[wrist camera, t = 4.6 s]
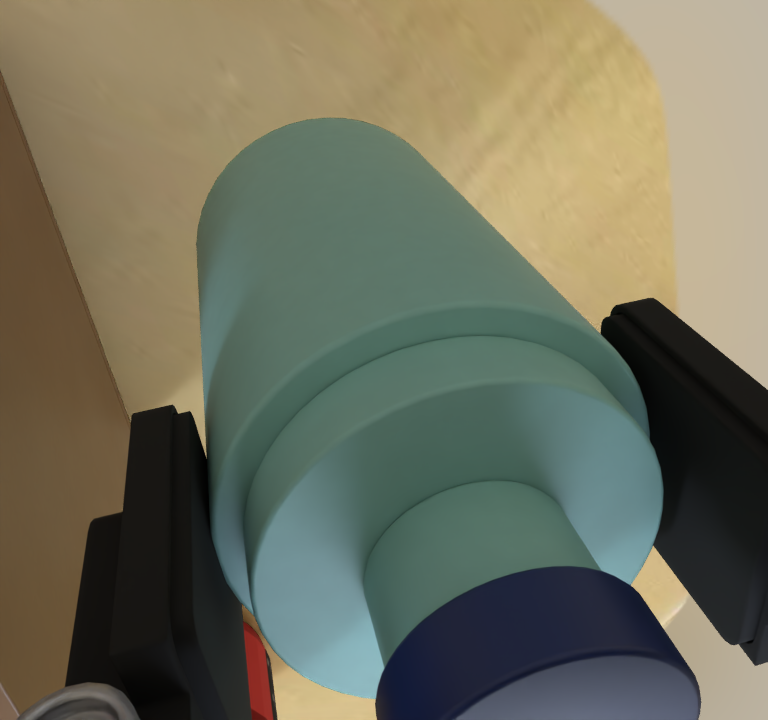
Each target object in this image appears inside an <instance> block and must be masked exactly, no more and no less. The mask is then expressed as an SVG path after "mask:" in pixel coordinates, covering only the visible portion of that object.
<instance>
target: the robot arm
mask: <svg viewBox="0 0 768 720" xmlns="http://www.w3.org/2000/svg"><path fill="white" fill-rule="evenodd" d="M601 335H602V336H603V337H604V338H605V339H606V340H607V341H608V342H609V343H610V344H611V345H612V346H613V347H614V348H615V349H616V351H617V352H618V353H619V354H620V356H621V357H622V358H623V359H624V361H625V362H626V363H627V364H628V366H629V367H630V369H631V371H632V373H633V375H634V376H635V378H636V380H637V382H638V384H639V386H640V389H641V392H642V395H643V398H644V401H645V405H646V408H647V415H648V422H649V429H650V442H651V444H652V446H653V447H654V449H655V452H656V455H657V458H658V461H659V464H660V467H661V473H662V481H663V489H664V493H663V511H662V516H661V520H660V525H659V530H658V532H657V535H656V538H655V541H654V544H653V546H654V547H655V548H656V550H657V551H658V552H659V554H660V555H661V556H662V558H663V559H664V560H665V562H666V563H667V564H668V566H669V567H670V568H671V570H672V571H673V572H674V574H675V575H676V576H677V578H678V579H679V580H680V582H681V583H682V584H683V586H684V587H685V588H686V590H687V591H688V592H689V594H690V595H691V596H692V598H693V599H694V600H695V602H696V603H697V604H698V606H699V607H700V608H701V610H702V611H703V612H704V614H705V615H706V616H707V618H708V619H709V620H710V622H711V623H712V624H713V626H714V627H715V629H716V630H717V631H718V633H719V634H720V635H721V636H722V637H723V639H724V640H725V641H726V642H728V643H729V644H731V645H737V644H739V645H740V647H741V648H742V649H743V650H744V652H745V653H746V654H747V656H748V657H749V658H750V660H751V661H752V662H753V664H754V665H755V666H756V665H759V664H763V663H766V662H768V390H767V389H766V388H765V387H763V386H762V385H761V384H760V383H758V382H757V381H756V380H755V379H754V378H752V377H751V376H750V375H749V374H747V373H746V372H745V371H744V370H742V369H741V368H740V367H739V366H738V365H736V364H735V363H734V362H733V361H731V360H730V359H729V358H728V357H726V356H725V355H724V354H723V353H721V352H720V351H719V350H718V349H717V348H715V347H714V346H713V345H712V344H710V343H709V342H708V341H707V340H705V339H704V338H703V337H701V335H699V334H698V333H697V332H696V331H694V330H693V329H692V328H691V327H690V326H688V325H687V324H686V323H685V322H683V321H682V320H681V319H680V318H678V317H677V316H676V315H675V314H674V313H672V312H671V311H670V310H669V309H667V308H666V307H665V306H664V305H662V304H661V303H660V302H659V301H657V300H656V299H654V298H647V299H642V300H638V301H633V302H629V303H624V304H620V305H616V306H615V307H614V308H613V309H612V311H611V314H610V316H609V317H606V318H604V319H603V321H602V325H601ZM16 720H252V715H251V704H250V693H249V682H248V670H247V659H246V648H245V637H244V626H243V614H242V603H241V602H240V601H239V600H238V598H237V597H236V595H235V594H234V593H233V591H232V590H231V588H230V587H229V585H228V584H227V582H226V580H225V577H224V574H223V571H222V568H221V565H220V562H219V559H218V556H217V553H216V550H215V547H214V544H213V541H212V537H211V532H210V513H209V493H208V473H207V459H206V456H205V453H204V449H203V446H202V443H201V440H200V437H199V434H198V430H197V427H196V424H195V421H194V418H193V415H192V413H191V412H190V411H189V412H184V413H180V414H178V413H177V410H176V408H175V407H174V406H173V405H169V406H164V407H160V408H155V409H151V410H147V411H142V412H138V413H134V414H133V415H132V419H131V429H130V439H129V449H128V460H127V470H126V481H125V491H124V502H123V512H119V513H115V514H111V515H107V516H103V517H99V518H94V519H93V520H92V521H91V523H90V526H89V529H88V534H87V541H86V548H85V554H84V561H83V568H82V574H81V581H80V588H79V595H78V601H77V608H76V615H75V621H74V628H73V635H72V642H71V648H70V655H69V662H68V668H67V675H66V682H65V688H62V689H60V690H58V691H56V692H54V693H51V694H49V695H47V696H45V697H43V698H42V699H40V700H39V701H38V702H36V703H35V704H34V705H32V706H31V707H29V708H28V709H27V710H25V711H24V712H23V713H22V714H21V715H20V716H19V717H18V718H17V719H16Z"/></svg>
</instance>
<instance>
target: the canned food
mask: <svg viewBox="0 0 768 720" xmlns="http://www.w3.org/2000/svg"><path fill="white" fill-rule="evenodd" d="M243 626H244V637H245V648H246V659H247V670H248V682H249V693H250V704H251V715H252V720H277V712H276V703H275V695H274V686H273V678H272V669H271V663H270V658H269V656H268V654H267V651H266V649H265V647H264V645H263V643H262V641H261V639H260V637H259V635H258V634H257V633H256V632H255V631H254V630H253V628H252V627H251V626H249V625H248V624H247V623H245V622H244V621H243Z"/></svg>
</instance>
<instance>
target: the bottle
mask: <svg viewBox="0 0 768 720" xmlns="http://www.w3.org/2000/svg"><path fill="white" fill-rule="evenodd" d="M196 248H197V268H198V289H199V309H200V329H201V350H202V370H203V391H204V411H205V432H206V452H207V473H208V493H209V513H210V532H211V537H212V541H213V544H214V547H215V550H216V553H217V556H218V559H219V562H220V565H221V568H222V571H223V574H224V577H225V580H226V582H227V584H228V585H229V587H230V588H231V590H232V591H233V593H234V594H235V595H236V597H237V598H238V600H239V601H240V602H241V603H242V604H243V605H244V606H245V607H246V608H247V609H248V610H249V611H250V612H251V613H252V614H253V616H254V617H255V619H256V621H257V624H258V626H259V628H260V631H261V633H262V634H263V636H264V637H265V639H266V640H267V642H268V643H269V645H270V646H271V648H272V649H273V651H274V652H275V653H276V654H277V655H278V656H279V657H280V658H281V659H282V660H283V661H284V662H285V663H286V664H287V665H288V666H289V667H291V668H292V669H294V670H295V671H296V672H298V673H299V674H301V675H302V676H303V677H305V678H307V679H309V680H311V681H313V682H315V683H317V684H319V685H321V686H323V687H326V688H329V689H332V690H335V691H338V692H340V693H344V694H349V695H353V696H358V697H362V698H371V699H376V703H375V706H376V716H377V720H698V718H699V715H700V708H701V697H700V690H699V685H698V682H697V680H696V677H695V675H694V673H693V672H692V670H691V669H690V667H689V666H688V665H687V663H686V662H685V660H684V659H683V657H682V656H681V654H680V653H679V651H678V650H677V648H676V647H675V645H674V644H673V642H672V641H671V639H670V638H669V636H668V635H667V633H666V632H665V630H664V629H663V628H662V626H661V625H660V623H659V622H658V620H657V619H656V617H655V616H654V614H653V613H652V611H651V610H650V608H649V607H648V605H647V604H646V602H645V601H644V600H643V598H642V597H641V595H640V594H639V593H638V592H637V591H636V590H635V589H634V588H633V587H632V586H631V584H632V582H633V581H634V579H635V578H636V576H637V575H638V573H639V571H640V570H641V568H642V567H643V565H644V563H645V561H646V559H647V557H648V555H649V553H650V551H651V549H652V546H653V544H654V541H655V538H656V535H657V532H658V530H659V525H660V520H661V516H662V511H663V493H664V489H663V481H662V473H661V467H660V464H659V461H658V458H657V455H656V452H655V449H654V447H653V446H652V444H651V442H650V429H649V422H648V415H647V408H646V405H645V401H644V398H643V395H642V392H641V389H640V386H639V384H638V382H637V380H636V378H635V376H634V375H633V373H632V371H631V369H630V367H629V366H628V364H627V363H626V362H625V361H624V359H623V358H622V357H621V356H620V354H619V353H618V352H617V351H616V349H615V348H614V347H613V346H612V345H611V344H610V343H609V342H608V341H607V340H606V339H605V338H604V337H603V336H602V335H601V334H600V333H599V332H598V331H597V330H596V329H595V328H594V327H593V326H592V325H591V324H590V323H589V322H588V321H587V320H586V319H585V318H584V317H583V316H582V315H581V314H580V313H579V312H578V311H577V310H576V309H575V308H574V307H573V306H572V305H571V304H570V303H569V302H568V301H567V300H566V299H565V298H564V297H563V296H562V295H561V294H560V293H559V292H558V291H557V290H556V289H555V288H554V287H553V286H552V285H551V284H550V283H549V282H548V281H547V280H546V279H545V278H544V277H543V276H542V275H541V274H540V273H539V272H538V271H537V270H536V269H535V268H534V267H533V266H532V265H531V264H530V263H529V262H528V261H527V260H526V259H525V258H524V257H523V256H522V255H521V254H520V253H519V252H518V251H517V250H516V249H515V248H514V247H513V246H512V245H511V244H510V243H509V242H508V241H507V240H506V239H505V238H504V237H503V236H502V235H501V234H500V233H499V232H498V231H497V230H496V229H495V228H494V227H493V226H492V225H491V224H490V223H489V222H488V221H487V220H486V219H485V218H484V217H483V216H482V215H481V214H480V213H479V212H478V211H477V210H476V209H475V208H474V207H473V206H472V205H471V204H470V203H469V202H468V201H467V200H466V199H465V198H464V197H463V196H462V195H461V194H460V193H459V192H458V191H457V190H456V189H455V188H454V187H453V186H452V185H451V184H450V183H449V182H448V181H447V180H446V179H445V178H444V177H443V176H442V175H441V174H440V173H439V172H438V171H437V170H436V169H435V168H434V167H433V166H432V165H431V164H430V163H429V162H428V161H427V160H426V159H425V158H424V157H423V156H422V155H421V154H420V153H419V152H418V151H416V150H415V149H414V148H413V147H412V146H411V145H410V144H409V143H407V142H406V141H404V140H403V139H401V138H400V137H398V136H397V135H395V134H393V133H391V132H389V131H387V130H385V129H383V128H381V127H379V126H376V125H372V124H369V123H366V122H363V121H358V120H352V119H346V118H319V119H310V120H305V121H300V122H296V123H292V124H289V125H286V126H284V127H281V128H279V129H276V130H274V131H271V132H270V133H268V134H266V135H264V136H262V137H261V138H259V139H257V140H255V141H254V142H253V143H251V144H250V145H249V146H248V147H246V148H245V149H244V150H242V151H241V152H240V153H239V154H238V155H237V156H236V157H235V158H234V159H233V160H232V161H231V162H230V163H229V164H228V165H227V166H226V168H225V169H224V170H223V171H222V173H221V174H220V175H219V177H218V178H217V180H216V181H215V183H214V185H213V187H212V188H211V190H210V192H209V194H208V196H207V199H206V201H205V204H204V206H203V209H202V212H201V216H200V220H199V224H198V231H197V242H196Z"/></svg>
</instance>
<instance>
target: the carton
mask: <svg viewBox="0 0 768 720" xmlns="http://www.w3.org/2000/svg"><path fill="white" fill-rule="evenodd" d="M130 429H131V424H130V421H129V418H128V416H127V413H126V410H125V408H124V405H123V402H122V399H121V397H120V394H119V391H118V389H117V386H116V383H115V380H114V378H113V375H112V372H111V370H110V367H109V364H108V361H107V359H106V356H105V353H104V351H103V348H102V345H101V342H100V340H99V337H98V334H97V332H96V329H95V326H94V323H93V321H92V318H91V315H90V313H89V310H88V307H87V304H86V302H85V299H84V296H83V294H82V291H81V288H80V285H79V283H78V280H77V277H76V275H75V272H74V269H73V266H72V264H71V261H70V258H69V256H68V253H67V250H66V247H65V245H64V242H63V239H62V237H61V234H60V231H59V228H58V226H57V223H56V220H55V218H54V215H53V212H52V209H51V207H50V204H49V201H48V199H47V196H46V193H45V190H44V188H43V185H42V182H41V180H40V177H39V174H38V171H37V169H36V166H35V163H34V161H33V158H32V155H31V152H30V150H29V147H28V144H27V142H26V139H25V136H24V133H23V131H22V128H21V125H20V123H19V120H18V117H17V114H16V112H15V109H14V106H13V104H12V101H11V98H10V95H9V93H8V90H7V87H6V85H5V82H4V79H3V76H2V74H1V71H0V720H16V719H17V718H18V717H19V716H20V715H21V714H22V713H23V712H24V711H25V710H27V709H28V708H29V707H31V706H32V705H34V704H35V703H36V702H38V701H39V700H40V699H42V698H43V697H45V696H47V695H49V694H51V693H54V692H56V691H58V690H60V689H62V688H65V682H66V675H67V668H68V662H69V655H70V648H71V642H72V635H73V628H74V621H75V615H76V608H77V601H78V595H79V588H80V581H81V574H82V568H83V561H84V554H85V548H86V541H87V534H88V529H89V526H90V523H91V521H92V520H93V519H94V518H99V517H103V516H107V515H111V514H115V513H119V512H122V509H123V500H124V491H125V481H126V470H127V460H128V449H129V439H130Z"/></svg>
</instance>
